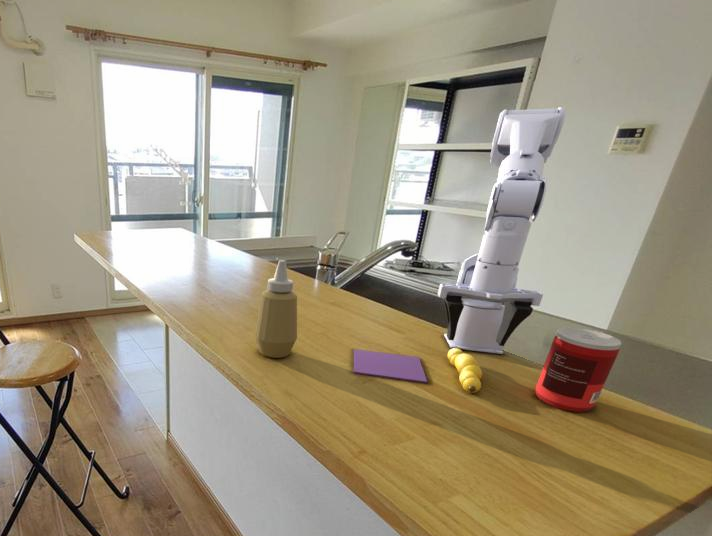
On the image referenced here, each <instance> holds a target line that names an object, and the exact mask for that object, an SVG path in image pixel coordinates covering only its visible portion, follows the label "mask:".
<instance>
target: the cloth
mask: <svg viewBox="0 0 712 536" xmlns="http://www.w3.org/2000/svg"><path fill="white" fill-rule="evenodd" d="M353 374H358V375H365V376H372V377H380V378H388V379H393V380H402V381H407V382H416V383H424V384H427V383H428V380H427V376H426V374H425V371H424V368H423V366H422V363H421V360H420V357H419V356H412V355H404V354H396V353H389V352H388V353H387V352H380V351H372V350H364V349H356V348H354V349H353Z"/></svg>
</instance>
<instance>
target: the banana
mask: <svg viewBox="0 0 712 536" xmlns="http://www.w3.org/2000/svg"><path fill="white" fill-rule="evenodd" d="M447 359H448V361H449V363H450V365H452V366H453V367H455V369H456V370H457V372H458V374H459V376H458V380H459V383H460V385H461V386H462V389H463V390H464V391H466V392H468V393H471V394H475V393H477V392H479V391H480V389H481V388H482V383H481V382H482V381H480V380H481V379H482V377H483V371H482V369H481V367H480V365H479V364H478V363H477V361H476V359H475V358H474V357H473V356H472V355H471V354H469V353H464V352H463V350H462V349H458V348H450V349H449V350H448V352H447Z"/></svg>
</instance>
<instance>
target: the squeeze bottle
mask: <svg viewBox="0 0 712 536" xmlns="http://www.w3.org/2000/svg"><path fill="white" fill-rule="evenodd" d="M266 288H267V289H266V290H264V291H263V292H262V293H261V298H260V303H259V309H258V316H257V321H256V327H255V334H254V336H255V339H256V344H257V347H258V351H259V353H260V354H261V355H263V356H265V357H269V358H274V359H275V358H276V359H280V358H281V359H282V358H285V357H288V356H289V355H290V354H291V352H292V350H293V347H294V345H295V344H296V341H297V339H298V295H297V294H296V293H295V292H294V291H293V290H294V281H293V280H292V279H290V278H288V270H287V262H286V260H284V259H279V260H278V263H277V266H276V269H275V273H274V275H273V277H272V278H268V280H267V286H266Z"/></svg>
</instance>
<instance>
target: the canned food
mask: <svg viewBox="0 0 712 536" xmlns="http://www.w3.org/2000/svg"><path fill="white" fill-rule="evenodd" d="M621 347H622V341H621V340H620V339H618V338H616V337H615V336H612V335H610V334H607V333H604V332H601V331H598V330H594V329H593V330H591V329H586V328H581V327H563V328H562V327H561V328H558V329H557V330H556V333H555V335H554V338H553V340H552V342H551V345H550V348H549V351H548V354H547V357H546V358H545V362H544V364H543V367H542V370H541V373H540V376H539V378H538V381H537V383H536V385H535V396H536V397H537V398H538V400H540V401H541V402H543V403H545V404H547V405H549V406H550V407H553V408H555V409H556V408H557V409H559V410H563V411H568V412H574V413H584V412H589V411H590V410H592V409H593V407H595V405H596V404H597V402H598V400H599V397H600V395H601V394H602V393H601V392H602V390H603V388H604V386H605V384H606V381H607V379H608V377H609V375H610V373H611V371H612V369H613V366H614V364H615V362H616V360H617V357H618V356H619V352H620V351H621Z"/></svg>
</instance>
